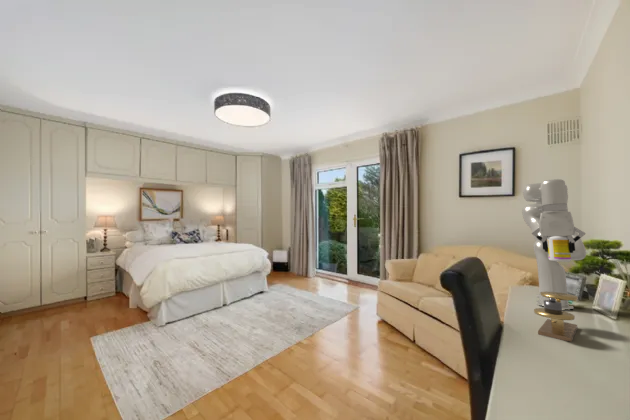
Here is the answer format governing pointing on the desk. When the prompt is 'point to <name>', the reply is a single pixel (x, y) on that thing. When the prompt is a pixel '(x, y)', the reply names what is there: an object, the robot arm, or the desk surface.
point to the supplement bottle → (558, 248)
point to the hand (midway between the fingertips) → (558, 251)
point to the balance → (556, 317)
